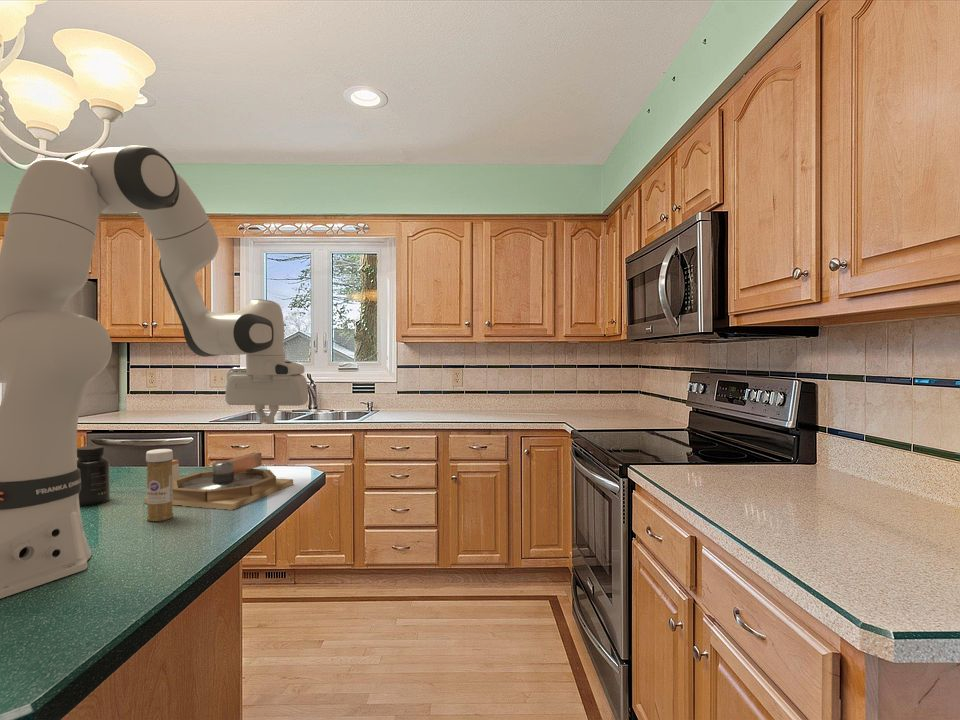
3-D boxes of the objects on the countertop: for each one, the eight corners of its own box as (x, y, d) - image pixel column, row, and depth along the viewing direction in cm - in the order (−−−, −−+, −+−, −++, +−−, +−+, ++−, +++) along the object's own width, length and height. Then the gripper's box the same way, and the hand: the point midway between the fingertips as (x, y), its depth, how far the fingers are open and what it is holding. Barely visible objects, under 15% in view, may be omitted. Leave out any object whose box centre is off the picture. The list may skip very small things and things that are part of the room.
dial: (229, 498, 116) (229, 472, 116) (163, 493, 120) (162, 468, 120) (287, 476, 137) (287, 454, 136) (228, 472, 141) (228, 451, 141)
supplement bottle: (63, 505, 117) (62, 449, 117) (95, 496, 124) (94, 443, 124) (86, 508, 115) (85, 451, 115) (117, 499, 122) (116, 445, 121)
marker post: (171, 490, 129) (170, 462, 128) (162, 490, 129) (162, 461, 129) (179, 488, 131) (178, 460, 131) (170, 487, 132) (170, 459, 131)
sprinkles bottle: (143, 523, 105) (142, 453, 105) (150, 516, 109) (149, 448, 109) (170, 520, 106) (169, 451, 106) (176, 514, 111) (175, 447, 110)
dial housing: (232, 510, 113) (231, 494, 113) (144, 503, 119) (144, 487, 118) (293, 484, 135) (293, 470, 134) (216, 479, 140) (216, 466, 140)
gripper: (218, 367, 133) (220, 424, 133) (298, 367, 129) (299, 426, 130) (234, 366, 139) (235, 421, 139) (310, 366, 136) (311, 422, 136)
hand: (267, 423), depth 135 cm, fingers closed
